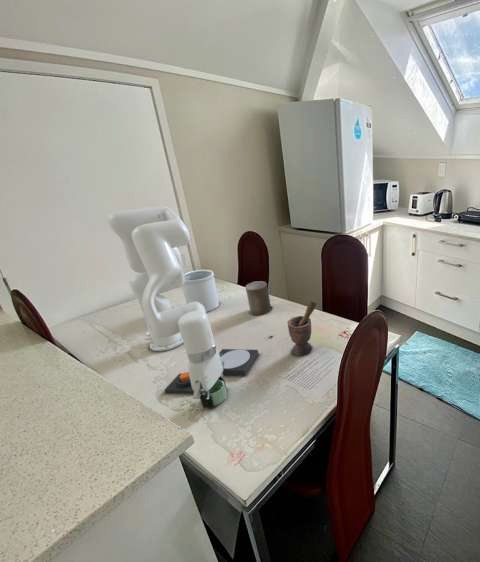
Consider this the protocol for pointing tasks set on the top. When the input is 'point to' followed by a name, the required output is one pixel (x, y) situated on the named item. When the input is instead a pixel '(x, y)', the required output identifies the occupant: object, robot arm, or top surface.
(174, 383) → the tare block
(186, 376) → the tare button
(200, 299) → the utensil holder
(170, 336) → the robot arm
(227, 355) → the scale
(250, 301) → the pillar candle
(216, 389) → the bowl
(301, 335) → the mortar and pestle
